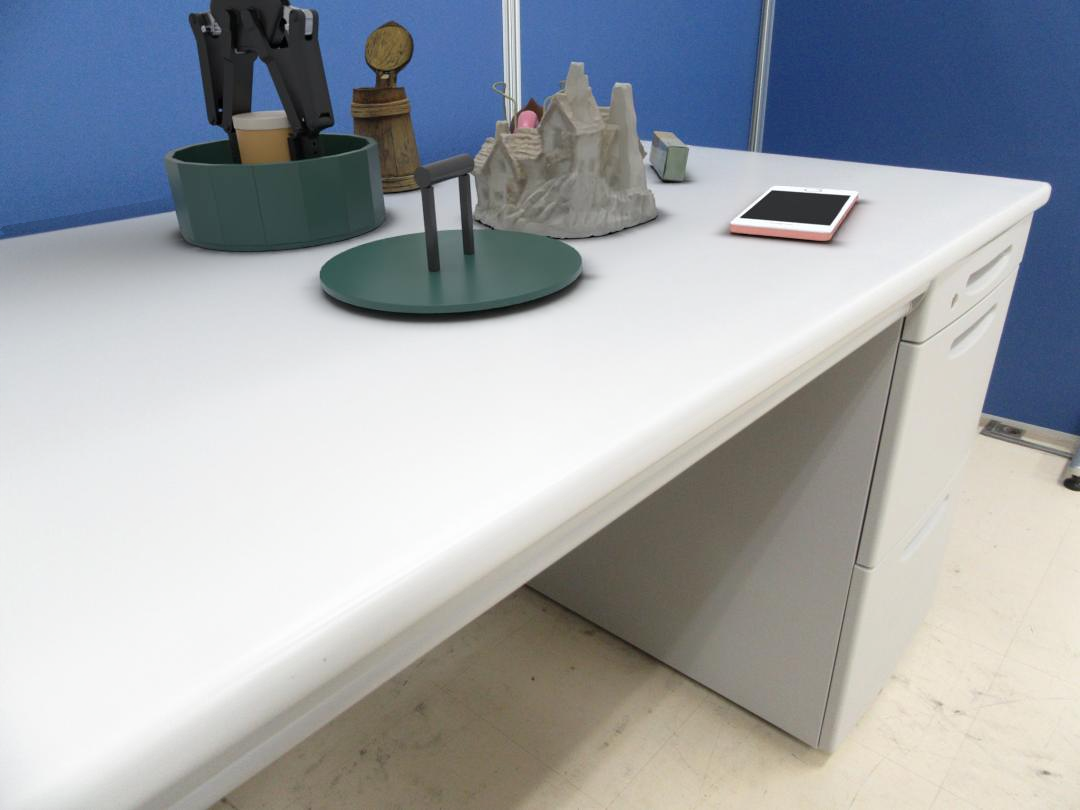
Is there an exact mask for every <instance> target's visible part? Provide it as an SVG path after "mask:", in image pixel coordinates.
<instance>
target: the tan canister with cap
mask: <svg viewBox="0 0 1080 810" xmlns="http://www.w3.org/2000/svg"><path fill="white" fill-rule="evenodd" d="M232 119H233V124H234V128H235V129H236V134H237V140H238V145H239V150H240V155H241V161H242V164H258V163H272V162H285V161H291V158H290V152H289V146H288V140H287V138H289V137H290V136H289V135H288V133H290V132H292V131H293V130H292V128H291V125H290V123H289V120H288V118H287V115H286V113H285V110H284V109H283V110H262V111H251V112H250V113H243V114H238V115H234V116H232ZM303 121H304V118H303Z"/></svg>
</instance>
